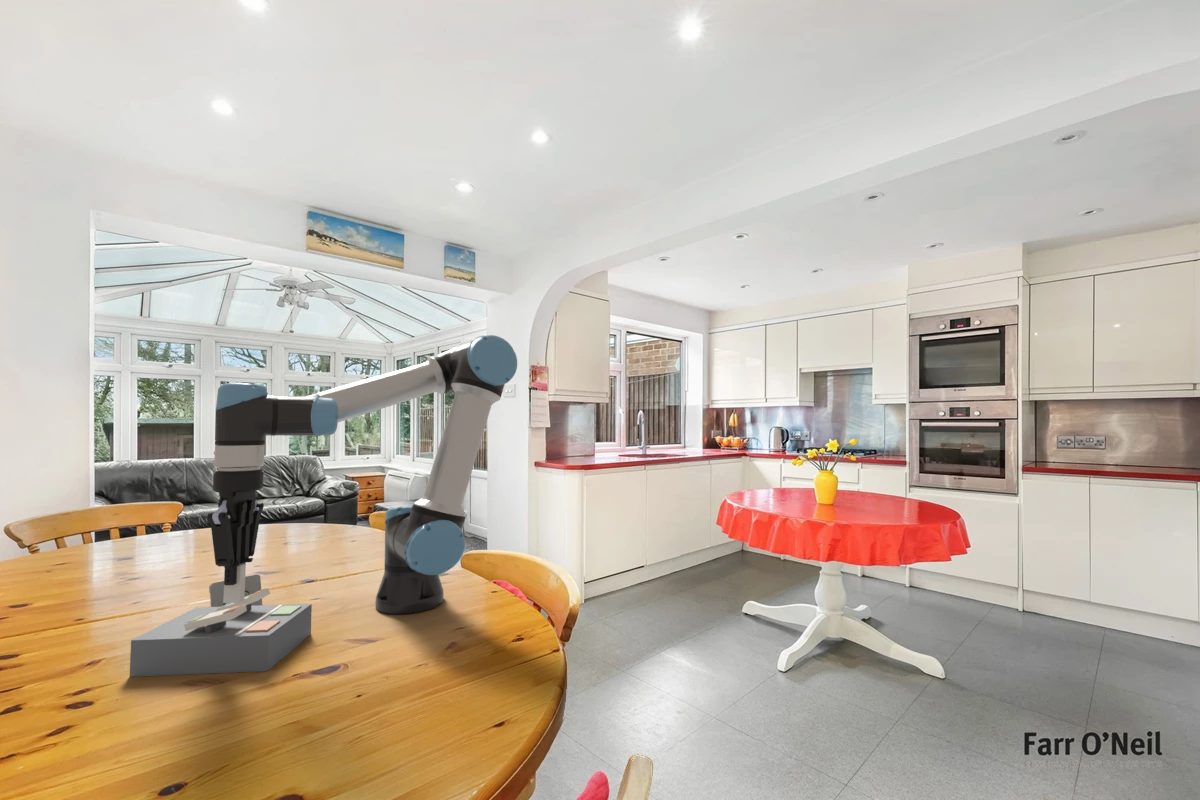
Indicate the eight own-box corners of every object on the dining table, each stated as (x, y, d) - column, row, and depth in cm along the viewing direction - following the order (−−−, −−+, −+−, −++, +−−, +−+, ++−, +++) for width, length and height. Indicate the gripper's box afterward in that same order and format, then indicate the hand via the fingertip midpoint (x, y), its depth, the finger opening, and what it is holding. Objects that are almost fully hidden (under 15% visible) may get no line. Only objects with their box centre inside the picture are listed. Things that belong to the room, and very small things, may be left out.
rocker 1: (246, 610, 95) (245, 603, 95) (233, 618, 91) (231, 611, 91) (201, 622, 94) (199, 614, 94) (185, 630, 90) (183, 623, 90)
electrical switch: (212, 630, 107) (212, 584, 108) (204, 627, 110) (205, 582, 111) (263, 617, 114) (263, 574, 115) (255, 615, 118) (255, 572, 119)
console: (310, 634, 105) (311, 597, 105) (267, 671, 89) (269, 628, 90) (194, 638, 103) (196, 601, 103) (129, 676, 87) (131, 633, 88)
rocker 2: (270, 593, 103) (267, 587, 103) (258, 600, 99) (256, 593, 99) (229, 609, 102) (227, 603, 102) (216, 617, 98) (214, 610, 98)
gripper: (238, 466, 100) (233, 590, 99) (192, 471, 87) (185, 615, 86) (279, 466, 101) (275, 589, 100) (239, 471, 88) (233, 613, 87)
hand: (233, 601), depth 93 cm, fingers closed
